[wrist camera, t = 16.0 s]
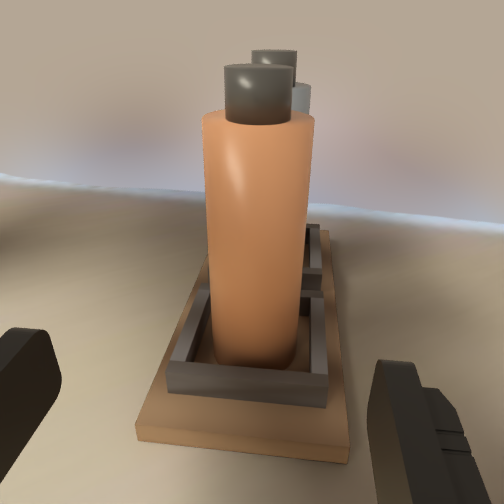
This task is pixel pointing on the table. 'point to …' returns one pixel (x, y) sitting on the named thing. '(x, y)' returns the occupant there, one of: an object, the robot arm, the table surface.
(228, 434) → the wooden bottle rack
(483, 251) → the table surface
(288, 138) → the orange bottle
